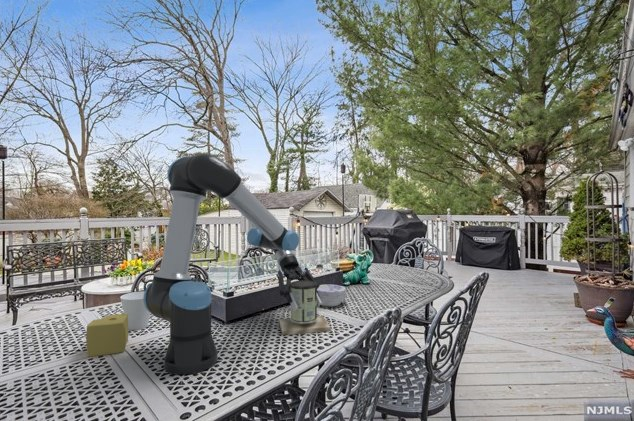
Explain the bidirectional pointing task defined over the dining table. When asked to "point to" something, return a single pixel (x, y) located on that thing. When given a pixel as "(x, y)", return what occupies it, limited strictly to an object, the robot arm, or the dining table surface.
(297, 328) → the plain beige board
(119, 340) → the cheese
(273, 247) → the robot arm
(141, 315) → the cup
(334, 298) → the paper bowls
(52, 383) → the dining table surface
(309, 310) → the coffee can
